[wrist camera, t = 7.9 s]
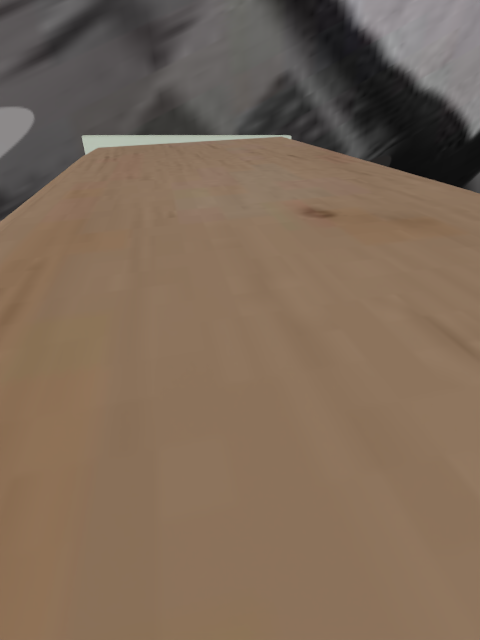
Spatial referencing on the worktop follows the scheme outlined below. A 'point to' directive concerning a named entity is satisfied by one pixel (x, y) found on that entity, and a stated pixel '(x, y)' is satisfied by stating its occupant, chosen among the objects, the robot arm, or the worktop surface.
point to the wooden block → (240, 399)
